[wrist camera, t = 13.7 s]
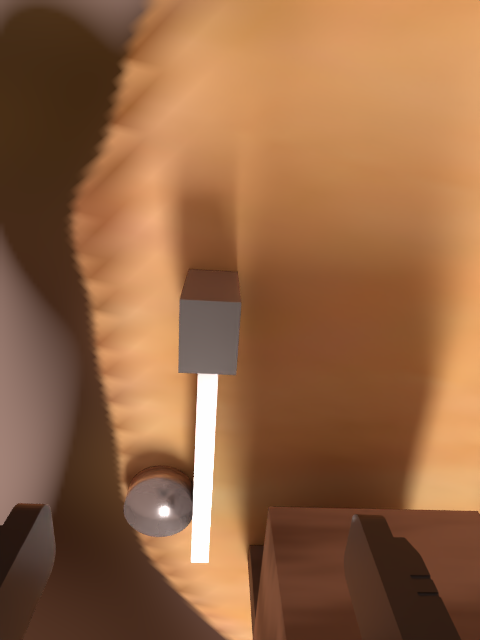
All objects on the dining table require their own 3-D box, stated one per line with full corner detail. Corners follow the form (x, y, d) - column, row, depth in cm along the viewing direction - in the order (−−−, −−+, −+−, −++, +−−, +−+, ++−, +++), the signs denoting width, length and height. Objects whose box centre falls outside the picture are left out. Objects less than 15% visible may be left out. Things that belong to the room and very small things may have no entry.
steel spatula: (188, 269, 26) (179, 299, 21) (237, 271, 26) (241, 302, 21) (182, 522, 33) (174, 596, 28) (220, 523, 34) (220, 596, 28)
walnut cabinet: (249, 439, 31) (286, 822, 13) (437, 445, 32) (710, 811, 14) (238, 565, 35) (254, 977, 18) (402, 567, 36) (577, 963, 18)
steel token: (140, 456, 31) (135, 475, 29) (204, 474, 32) (203, 494, 30) (121, 506, 33) (115, 527, 31) (182, 522, 34) (180, 543, 32)
